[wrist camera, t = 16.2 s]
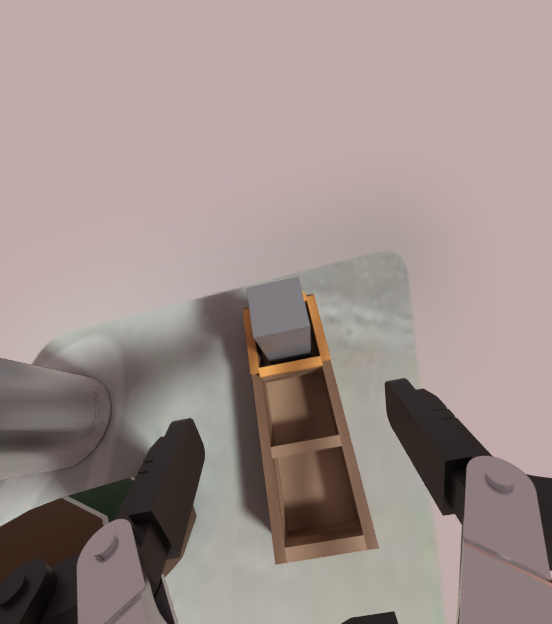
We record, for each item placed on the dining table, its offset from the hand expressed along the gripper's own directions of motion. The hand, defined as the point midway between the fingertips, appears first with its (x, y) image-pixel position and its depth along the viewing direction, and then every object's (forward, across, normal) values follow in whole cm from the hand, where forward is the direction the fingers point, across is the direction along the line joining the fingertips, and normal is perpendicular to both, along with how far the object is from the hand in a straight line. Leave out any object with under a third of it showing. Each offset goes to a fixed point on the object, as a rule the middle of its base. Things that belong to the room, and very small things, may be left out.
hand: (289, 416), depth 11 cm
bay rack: (+12, 0, +10) cm, 16 cm away
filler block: (+16, 0, +5) cm, 17 cm away
